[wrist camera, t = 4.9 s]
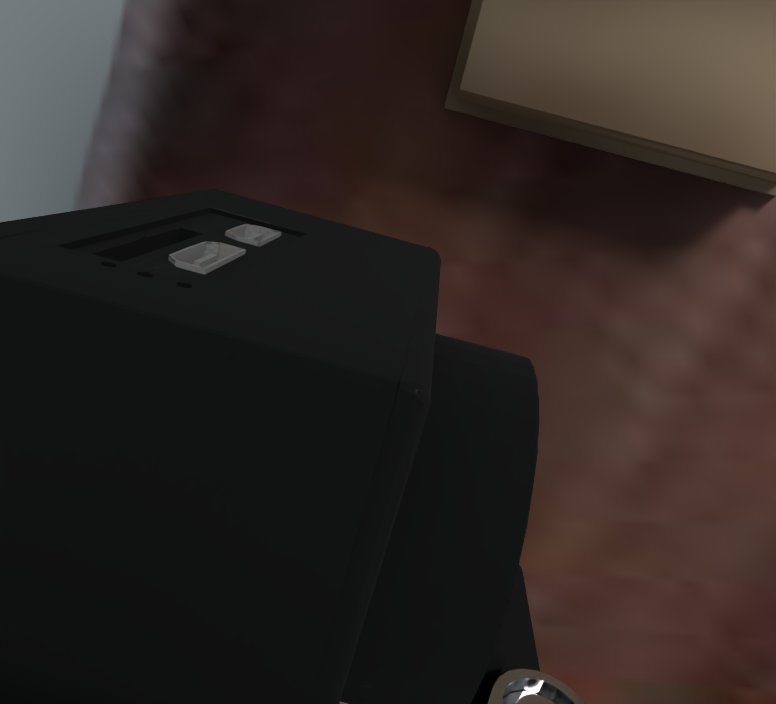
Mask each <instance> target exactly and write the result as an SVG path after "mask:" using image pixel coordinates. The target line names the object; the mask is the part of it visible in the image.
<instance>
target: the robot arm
mask: <svg viewBox="0 0 776 704" xmlns="http://www.w3.org/2000/svg"><path fill="white" fill-rule="evenodd" d="M471 704H584V702H583V701H582V700H581V698H579V697H578V696H577V695H576V694H575V693H574V692H573V691H572V690H571V689H570V688H569V687H568V686H566V685H565V684H563V683H562V682H560V681H558V680H557V679H555V678H554V677H552V676H549V675H547V674H544V673H542V672H540V669H539V663H538V657H537V652H536V646H535V640H534V635H533V629H532V623H531V617H530V612H529V606H528V600H527V595H526V589H525V583H524V577H523V572H522V569H521V566H519V565H518V569H517V573H516V577H515V581H514V585H513V589H512V594H511V598H510V602H509V605H508V608H507V611H506V614H505V617H504V621H503V624H502V627H501V630H500V633H499V636H498V639H497V642H496V645H495V648H494V651H493V654H492V656H491V659H490V662H489V665H488V668H487V671H486V673H485V675H484V677H483V679H482V682H481V684H480V686H479V688H478V690H477V692H476V694H475V696H474V698H473V700H472V702H471Z"/></svg>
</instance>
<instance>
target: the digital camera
mask: <svg viewBox="0 0 776 704" xmlns="http://www.w3.org/2000/svg"><path fill="white" fill-rule="evenodd" d="M440 264H441V259H440V256H439V254H438V253H437V251H436V250H434V249H432V248H430V247H424V246H420V245H417V244H413V243H409V242H406V241H402V240H399V239H395V238H391V237H388V236H384V235H380V234H377V233H373V232H369V231H366V230H362V229H358V228H355V227H351V226H347V225H344V224H340V223H337V222H333V221H329V220H326V219H322V218H318V217H315V216H311V215H307V214H304V213H300V212H296V211H293V210H289V209H285V208H282V207H278V206H275V205H271V204H267V203H264V202H260V201H256V200H253V199H249V198H245V197H242V196H238V195H234V194H231V193H227V192H223V191H219V190H215V189H214V190H207V191H201V192H194V193H188V194H181V195H175V196H168V197H162V198H155V199H149V200H143V201H136V202H130V203H123V204H117V205H110V206H104V207H97V208H91V209H85V210H78V211H72V212H65V213H59V214H52V215H46V216H39V217H33V218H27V219H20V220H14V221H7V222H1V223H0V704H339V703H340V701H342V702H345V703H348V704H471V702H472V700H473V698H474V696H475V694H476V692H477V690H478V688H479V686H480V684H481V682H482V679H483V677H484V675H485V673H486V671H487V668H488V665H489V662H490V659H491V656H492V654H493V651H494V648H495V645H496V642H497V639H498V636H499V633H500V630H501V627H502V624H503V621H504V617H505V614H506V611H507V608H508V605H509V602H510V598H511V594H512V589H513V585H514V581H515V577H516V573H517V569H518V565H519V560H520V556H521V551H522V547H523V542H524V538H525V533H526V529H527V523H528V516H529V510H530V503H531V496H532V490H533V483H534V475H535V468H536V461H537V453H538V436H539V394H538V382H537V378H536V374H535V370H534V367H533V365H532V363H531V361H530V359H528V358H526V357H524V356H520V355H516V354H512V353H508V352H504V351H501V350H497V349H493V348H489V347H485V346H481V345H477V344H474V343H470V342H466V341H462V340H458V339H454V338H450V337H447V336H443V335H439V334H435V332H436V318H437V305H438V291H439V278H440Z"/></svg>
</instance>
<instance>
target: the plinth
mask: <svg viewBox="0 0 776 704" xmlns="http://www.w3.org/2000/svg"><path fill="white" fill-rule="evenodd" d="M444 109H447V110H451V111H455V112H458V113H462V114H466V115H470V116H473V117H477V118H481V119H485V120H488V121H492V122H496V123H500V124H503V125H507V126H511V127H515V128H519V129H522V130H526V131H530V132H534V133H537V134H541V135H545V136H549V137H552V138H556V139H560V140H564V141H567V142H571V143H575V144H579V145H582V146H586V147H590V148H594V149H598V150H601V151H605V152H609V153H613V154H616V155H620V156H624V157H628V158H631V159H635V160H639V161H643V162H646V163H650V164H654V165H658V166H662V167H665V168H669V169H673V170H677V171H680V172H684V173H688V174H692V175H695V176H699V177H703V178H707V179H710V180H714V181H718V182H722V183H726V184H729V185H733V186H737V187H741V188H744V189H748V190H752V191H756V192H759V193H763V194H767V195H771V196H774V197H776V0H472V2H471V6H470V10H469V14H468V17H467V21H466V25H465V29H464V33H463V36H462V40H461V44H460V48H459V52H458V56H457V59H456V63H455V67H454V71H453V75H452V78H451V82H450V86H449V90H448V94H447V98H446V101H445V105H444Z"/></svg>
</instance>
